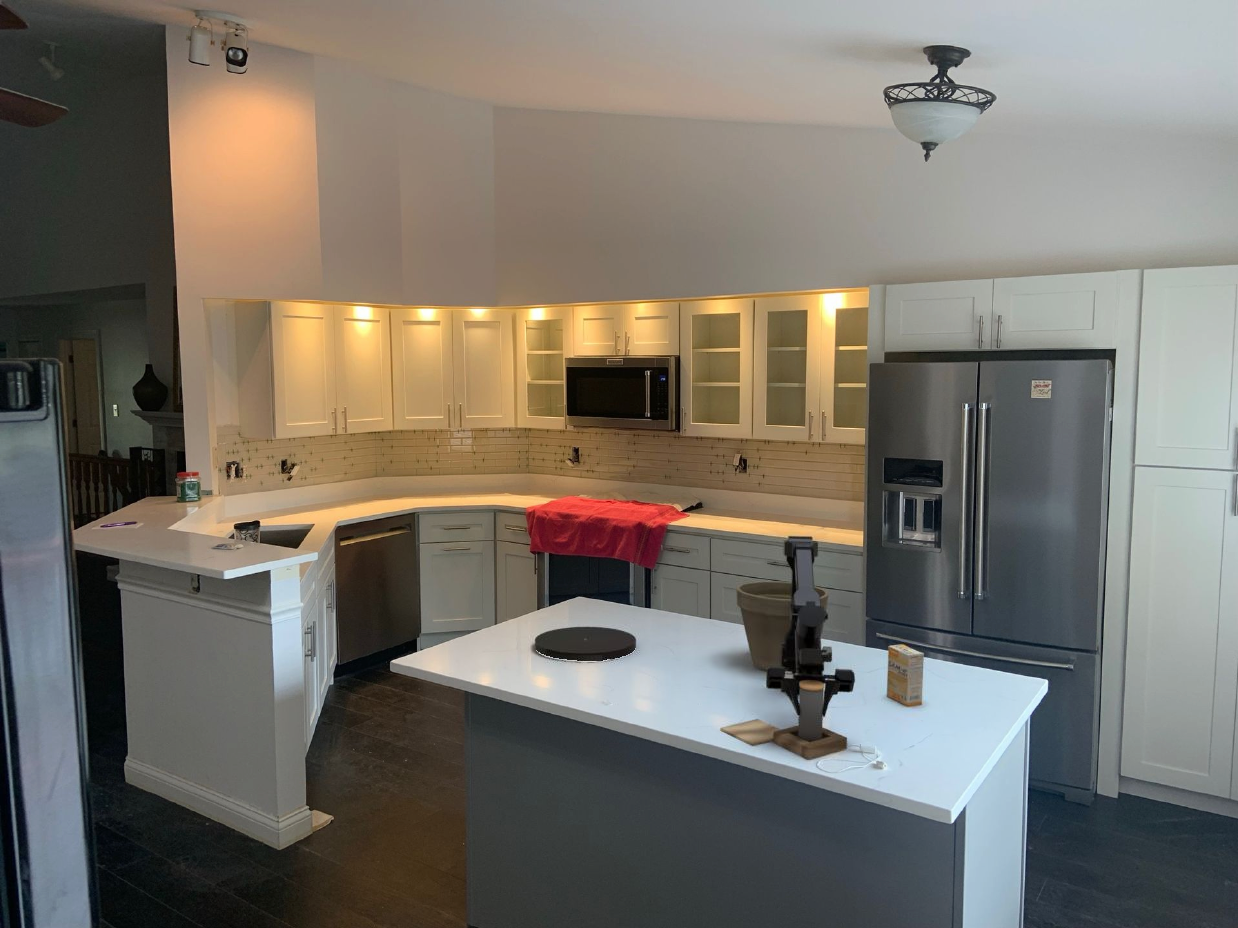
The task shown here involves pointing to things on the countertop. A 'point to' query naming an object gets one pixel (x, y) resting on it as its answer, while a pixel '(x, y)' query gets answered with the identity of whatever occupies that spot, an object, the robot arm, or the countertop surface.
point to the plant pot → (768, 618)
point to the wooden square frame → (810, 749)
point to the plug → (810, 710)
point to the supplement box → (905, 675)
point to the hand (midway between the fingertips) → (811, 715)
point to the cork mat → (751, 731)
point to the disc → (585, 643)
